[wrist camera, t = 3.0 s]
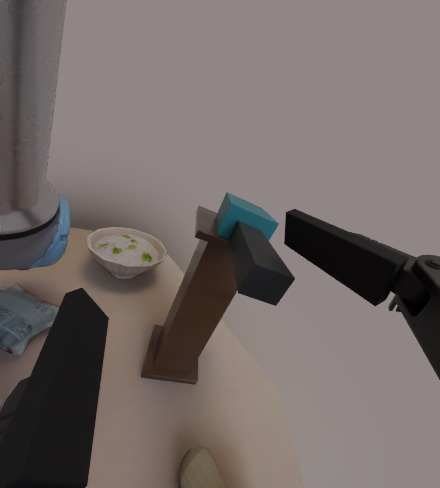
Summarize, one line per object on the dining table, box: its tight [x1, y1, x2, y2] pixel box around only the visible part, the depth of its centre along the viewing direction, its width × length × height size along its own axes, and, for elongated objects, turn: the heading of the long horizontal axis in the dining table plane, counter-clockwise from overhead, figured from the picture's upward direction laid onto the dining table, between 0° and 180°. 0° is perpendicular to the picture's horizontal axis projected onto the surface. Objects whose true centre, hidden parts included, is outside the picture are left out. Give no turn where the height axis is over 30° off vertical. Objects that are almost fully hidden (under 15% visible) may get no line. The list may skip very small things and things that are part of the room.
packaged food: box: [0, 283, 59, 355], centre depth 29 cm, size 9×12×5 cm
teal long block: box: [216, 193, 295, 306], centre depth 20 cm, size 18×6×4 cm, turn 2°
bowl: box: [87, 227, 167, 279], centre depth 49 cm, size 19×19×10 cm
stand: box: [141, 206, 237, 384], centre depth 31 cm, size 11×11×29 cm
